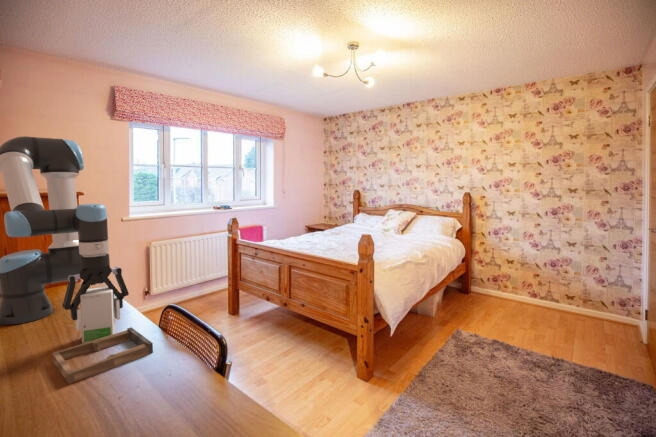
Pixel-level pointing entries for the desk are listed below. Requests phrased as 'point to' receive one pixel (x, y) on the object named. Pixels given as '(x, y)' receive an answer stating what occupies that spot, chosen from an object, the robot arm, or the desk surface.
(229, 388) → the desk surface
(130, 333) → the brown wooden shallow tray
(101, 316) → the skincare box
